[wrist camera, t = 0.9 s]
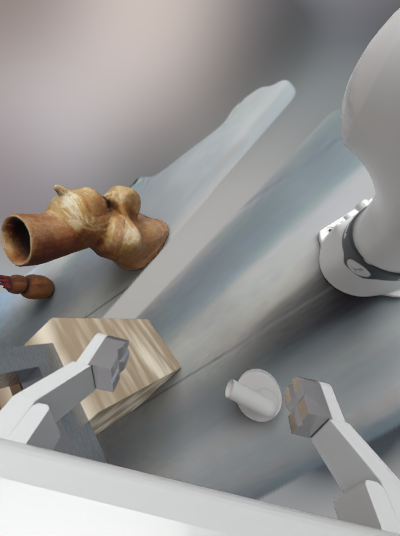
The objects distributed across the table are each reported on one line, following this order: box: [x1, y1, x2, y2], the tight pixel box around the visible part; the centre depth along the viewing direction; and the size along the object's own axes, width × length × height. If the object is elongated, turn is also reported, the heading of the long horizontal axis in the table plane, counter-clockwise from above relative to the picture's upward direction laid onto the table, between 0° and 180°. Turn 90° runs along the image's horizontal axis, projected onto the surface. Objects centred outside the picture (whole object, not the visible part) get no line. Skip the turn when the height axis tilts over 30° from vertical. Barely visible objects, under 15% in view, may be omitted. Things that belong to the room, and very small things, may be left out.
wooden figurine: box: [0, 274, 54, 299], centre depth 59 cm, size 7×6×15 cm
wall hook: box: [225, 369, 282, 422], centre depth 39 cm, size 9×10×10 cm
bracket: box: [0, 343, 109, 464], centre depth 22 cm, size 3×20×8 cm, turn 41°
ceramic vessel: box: [1, 185, 169, 270], centre depth 45 cm, size 16×22×30 cm
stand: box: [0, 318, 181, 435], centre depth 39 cm, size 14×14×28 cm
